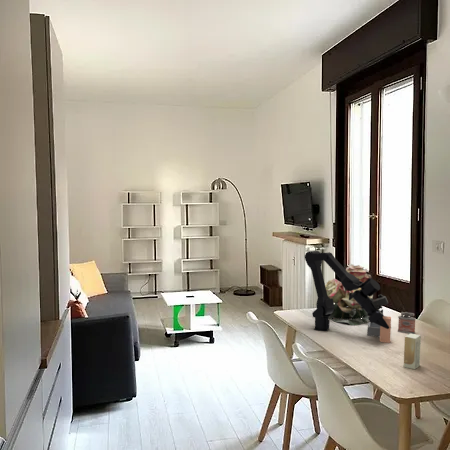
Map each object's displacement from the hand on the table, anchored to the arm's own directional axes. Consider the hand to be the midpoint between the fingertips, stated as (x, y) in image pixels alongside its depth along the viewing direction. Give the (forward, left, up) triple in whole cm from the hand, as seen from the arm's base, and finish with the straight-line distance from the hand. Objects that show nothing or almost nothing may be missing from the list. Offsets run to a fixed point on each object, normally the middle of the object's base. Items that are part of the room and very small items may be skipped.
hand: (388, 327), depth 227 cm
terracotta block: (-1, 0, -7) cm, 7 cm away
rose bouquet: (-19, +36, -7) cm, 42 cm away
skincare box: (+9, -33, -7) cm, 35 cm away
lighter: (+9, +20, -7) cm, 23 cm away
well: (-4, +12, -7) cm, 14 cm away
